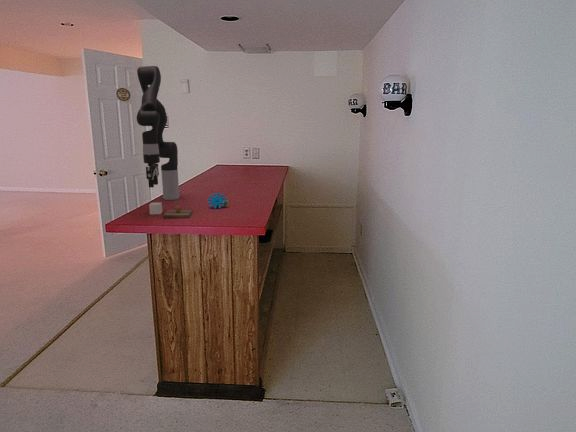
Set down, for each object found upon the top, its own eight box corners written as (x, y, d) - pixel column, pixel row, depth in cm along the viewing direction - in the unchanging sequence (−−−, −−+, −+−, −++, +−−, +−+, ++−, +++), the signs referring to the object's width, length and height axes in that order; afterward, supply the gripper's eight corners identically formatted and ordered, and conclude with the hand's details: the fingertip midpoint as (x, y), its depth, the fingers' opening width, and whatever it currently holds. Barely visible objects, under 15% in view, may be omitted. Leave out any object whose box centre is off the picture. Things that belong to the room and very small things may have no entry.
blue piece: (205, 206, 215) (209, 190, 220) (206, 212, 220) (210, 196, 225) (226, 209, 215) (229, 193, 220) (226, 214, 220) (230, 199, 225)
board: (168, 212, 208) (168, 203, 207) (192, 212, 209) (192, 203, 208) (163, 218, 197) (162, 208, 195) (188, 217, 197) (188, 208, 196)
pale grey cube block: (152, 212, 209) (151, 202, 208) (162, 212, 209) (161, 202, 208) (149, 214, 204) (149, 204, 203) (160, 214, 205) (159, 204, 203)
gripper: (147, 152, 206) (149, 183, 210) (139, 154, 192) (141, 188, 196) (162, 151, 207) (164, 183, 210) (155, 154, 193) (157, 188, 197)
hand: (153, 185), depth 203 cm, fingers open, 8 cm apart
